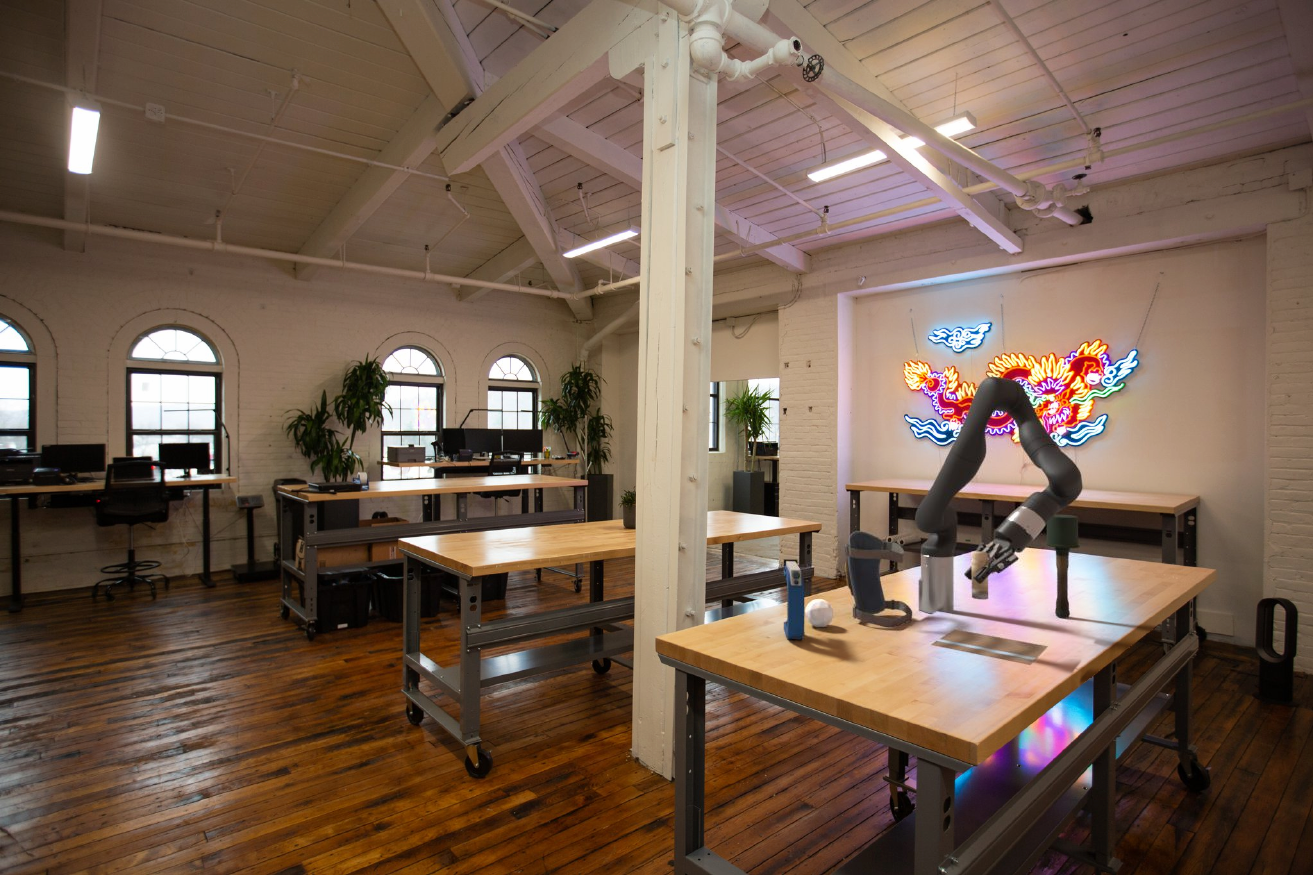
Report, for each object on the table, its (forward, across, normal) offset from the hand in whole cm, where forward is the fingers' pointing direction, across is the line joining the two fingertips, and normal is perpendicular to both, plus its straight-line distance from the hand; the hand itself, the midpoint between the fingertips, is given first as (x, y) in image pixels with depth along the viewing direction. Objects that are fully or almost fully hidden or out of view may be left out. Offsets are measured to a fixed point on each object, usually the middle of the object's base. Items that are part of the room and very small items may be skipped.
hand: (972, 579), depth 161 cm
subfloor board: (+9, -2, +17) cm, 19 cm away
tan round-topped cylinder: (+2, 0, +5) cm, 5 cm away
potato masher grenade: (-19, -32, +45) cm, 58 cm away
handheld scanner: (+41, -18, -15) cm, 47 cm away
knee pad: (+21, -33, +6) cm, 39 cm away
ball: (+34, -26, -8) cm, 44 cm away
